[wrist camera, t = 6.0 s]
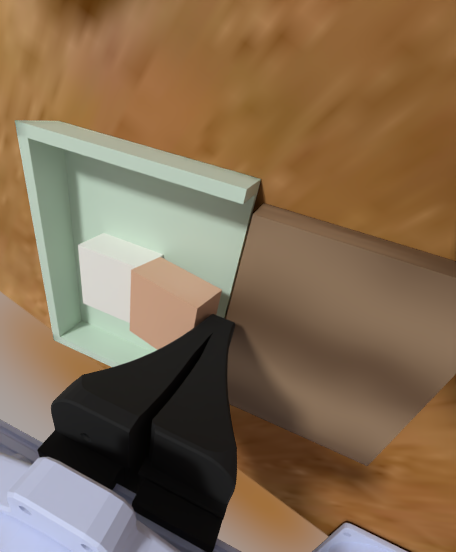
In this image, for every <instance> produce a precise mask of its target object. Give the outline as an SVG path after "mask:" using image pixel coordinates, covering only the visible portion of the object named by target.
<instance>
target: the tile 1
mask: <svg viewBox="0 0 456 552" xmlns="http://www.w3.org/2000/svg"><path fill="white" fill-rule="evenodd" d="M78 252H79V263H80V274H81V285H82V296H83V303H84V304H86V305H88V306H91V307H93V308H95V309H98V310H100V311H102V312H105V313H107V314H110V315H112V316H114V317H117V318H119V319H121V320H124V321H126V322H128V323H130V292H131V269H134V268H136V267H138V266H141V265H143V264H145V263H147V262H150V261H152V260H154V259H156V258H159V257H162V258H163V254H161V253H158V252H155V251H152V250H150V249H147V248H144V247H141V246H139V245H136V244H133V243H130V242H128V241H125V240H122V239H119V238H117V237H114V236H111V235H108V234H106V233H102V234H100V235H98V236H96V237H94V238H92V239H89V240H87V241H85V242H83V243H81V244H79V245H78Z"/></svg>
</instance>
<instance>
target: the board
mask: <svg viewBox="0 0 456 552" xmlns="http://www.w3.org/2000/svg"><path fill="white" fill-rule="evenodd" d="M226 319H227V320H230V321H232V322H234V323H235V329H234V332H233V336H232V339H231V343H230V346H229V353H228V367H227V382H228V399H229V404H230V405H233V406H235V407H237V408H239V409H241V410H244V411H246V412H248V413H250V414H253V415H255V416H257V417H259V418H261V419H264V420H266V421H268V422H270V423H273V424H275V425H277V426H279V427H281V428H284V429H286V430H288V431H290V432H293V433H295V434H297V435H299V436H301V437H304V438H306V439H308V440H310V441H313V442H315V443H317V444H319V445H321V446H324V447H326V448H328V449H330V450H333V451H335V452H337V453H339V454H341V455H344V456H346V457H348V458H350V459H353V460H355V461H357V462H359V463H361V464H364V465H366V466H368V465H369V464H370V463H371V462H372V461H373V460H374V459H375V458H376V456H377V455H378V454H379V453H380V452H381V451H382V450H383V449H384V448H385V447H386V446H387V445H388V444H389V443H390V442H391V441H392V440H393V439H394V438H395V437H396V436H397V435H398V434H399V433H400V431H401V430H402V429H403V428H404V427H405V426H406V425H407V424H408V423H409V422H410V421H411V420H412V419H413V418H414V417H415V416H416V415H417V414H418V413H419V412H420V411H421V410H422V409H423V408H424V406H425V405H426V404H427V403H428V402H429V401H430V400H431V399H432V398H433V397H434V396H435V395H436V394H437V393H438V392H439V391H440V390H441V389H442V388H443V387H444V386H445V385H446V384H447V383H448V381H449V380H450V379H451V378H452V377H453V376H454V375H455V374H456V261H453V260H450V259H447V258H443V257H440V256H437V255H433V254H430V253H427V252H424V251H420V250H417V249H414V248H410V247H407V246H404V245H400V244H397V243H394V242H391V241H387V240H384V239H381V238H377V237H374V236H371V235H367V234H364V233H361V232H358V231H354V230H351V229H348V228H344V227H341V226H338V225H334V224H331V223H328V222H325V221H321V220H318V219H315V218H311V217H308V216H305V215H301V214H298V213H295V212H292V211H288V210H285V209H282V208H278V207H275V206H272V205H268V204H265V203H263V204H262V205H261V206H260V207H259V208H258V210H257V211H256V212H255V213H254V214H253V216H252V220H251V224H250V228H249V232H248V235H247V239H246V243H245V247H244V251H243V255H242V259H241V262H240V266H239V270H238V274H237V278H236V282H235V286H234V290H233V293H232V297H231V301H230V305H229V309H228V313H227V317H226Z"/></svg>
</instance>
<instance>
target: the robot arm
mask: <svg viewBox="0 0 456 552" xmlns="http://www.w3.org/2000/svg"><path fill="white" fill-rule="evenodd" d="M234 329H235V323H234V322H232V321H230V320H227V319H225V318H222V317H220V316H217V315H214V314H211V315H210V316H209V317H207V318H206V319H205V320H204V321H202V322H201V323H200V324H198V325H197V326H196V327H194V328H193V329H192V330H190V331H189V332H187V333H186V334H184V335H183V336H181V337H179V338H178V339H176V340H174V341H173V342H171V343H169V344H168V345H166V346H164V347H162V348H160V349H158V350H156V351H154V352H152V353H150V354H147V355H145V356H143V357H140V358H138V359H135V360H133V361H130V362H127V363H124V364H121V365H118V366H115V367H112V368H109V369H105V370H101V371H97V372H93V373H89V374H84V375H82V376H81V377H79V378H78V379H77V380H76V381H74V382H73V383H72V384H71V385H70V386H69V387H67V388H66V390H64V391H63V392H62V393H61V394H60V395H59V396H58V397H57V398H56V399H55V400H54V401H53V403H52V405H51V413H52V418H53V422H54V426H55V431H54V432H53V433H52V434H51V435H50V436H49V437H48V439H47V440H46V441H45V442H44V443H42V442H40V441H39V440H37V439H35V438H33V437H31V436H30V435H28V434H26V433H24V432H22V431H20V430H19V429H17V428H15V427H13V426H11V425H10V424H8V423H6V422H4V421H2V420H0V552H241V551H239V550H237V549H235V548H233V547H232V546H230V545H228V544H226V543H225V542H223V541H221V540H219V539H217V537H218V533H219V530H220V527H221V523H222V520H223V518H224V515H225V512H226V508H227V505H228V502H229V500H230V498H231V496H232V494H233V492H234V489H235V485H236V476H237V446H236V442H235V437H234V433H233V427H232V422H231V415H230V407H229V399H228V382H227V367H228V353H229V346H230V343H231V339H232V336H233V332H234ZM312 552H408V551H406V550H404V549H401V548H399V547H397V546H395V545H393V544H391V543H389V542H387V541H385V540H383V539H381V538H379V537H377V536H375V535H373V534H371V533H369V532H367V531H365V530H363V529H361V528H359V527H357V526H355V525H353V524H350V523H344V524H343V525H341V526H340V527H339V528H338V529H337V530H336V531H335V532H334V533H333V534H331V535H330V536H329V537H328V538H327V539H326V540H325V541H324V542H322V543H321V544H320V545H319V546H318V547H317V548H316V549H315V550H314V551H312Z"/></svg>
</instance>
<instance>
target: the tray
mask: <svg viewBox="0 0 456 552" xmlns="http://www.w3.org/2000/svg"><path fill="white" fill-rule="evenodd" d="M15 124H16V130H17V135H18V141H19V147H20V152H21V158H22V163H23V169H24V175H25V180H26V186H27V192H28V197H29V203H30V208H31V214H32V220H33V225H34V231H35V236H36V242H37V248H38V253H39V259H40V265H41V270H42V276H43V281H44V287H45V293H46V298H47V304H48V310H49V315H50V321H51V326H52V332H53V338H54V340H55V341H57V342H59V343H61V344H64V345H66V346H68V347H70V348H72V349H74V350H77V351H79V352H81V353H83V354H85V355H87V356H89V357H92V358H94V359H96V360H98V361H100V362H102V363H105V364H107V365H109V366H111V367H115V366H118V365H121V364H124V363H127V362H130V361H133V360H135V359H138V358H140V357H143V356H145V355H147V354H150V353H152V352H154V351H156V350H157V349H155V348H154V347H153V346H151V345H150V344H148V343H147V342H145V341H144V340H142V339H141V338H140V337H138V336H137V335H135V334H134V333H132V332H131V331H130V323H128V322H126V321H124V320H121V319H119V318H117V317H114V316H112V315H110V314H107V313H105V312H102V311H100V310H98V309H95V308H93V307H91V306H88V305H86V304H84V303H83V296H82V285H81V274H80V263H79V252H78V245H79V244H81V243H83V242H85V241H87V240H89V239H92V238H94V237H96V236H98V235H100V234H102V233H106V234H108V235H111V236H114V237H117V238H119V239H122V240H125V241H128V242H130V243H133V244H136V245H139V246H141V247H144V248H147V249H150V250H152V251H155V252H158V253H161V254H163V258H164V259H165V260H167V261H169V262H171V263H173V264H175V265H177V266H179V267H180V268H182V269H184V270H186V271H188V272H190V273H192V274H194V275H195V276H197V277H199V278H201V279H203V280H205V281H207V282H209V283H210V284H212V285H214V286H216V287H218V288H220V289H222V293H221V297H220V301H219V305H218V310H217V314H216V315H217V316H220V317H222V318H226V314H227V310H228V306H229V302H230V298H231V294H232V291H233V287H234V283H235V279H236V275H237V271H238V267H239V263H240V259H241V255H242V252H243V248H244V244H245V240H246V236H247V232H248V228H249V224H250V220H251V217H252V213H253V209H254V205H255V201H256V197H257V193H258V189H259V185H260V181H261V179H259V178H255V177H252V176H248V175H245V174H242V173H238V172H235V171H231V170H228V169H224V168H221V167H217V166H214V165H210V164H207V163H203V162H200V161H196V160H193V159H189V158H186V157H182V156H179V155H175V154H172V153H168V152H165V151H161V150H158V149H154V148H151V147H148V146H144V145H141V144H137V143H134V142H130V141H127V140H123V139H120V138H116V137H113V136H109V135H106V134H102V133H99V132H95V131H92V130H88V129H85V128H81V127H78V126H74V125H71V124H67V123H64V122H60V121H26V120H15Z"/></svg>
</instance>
